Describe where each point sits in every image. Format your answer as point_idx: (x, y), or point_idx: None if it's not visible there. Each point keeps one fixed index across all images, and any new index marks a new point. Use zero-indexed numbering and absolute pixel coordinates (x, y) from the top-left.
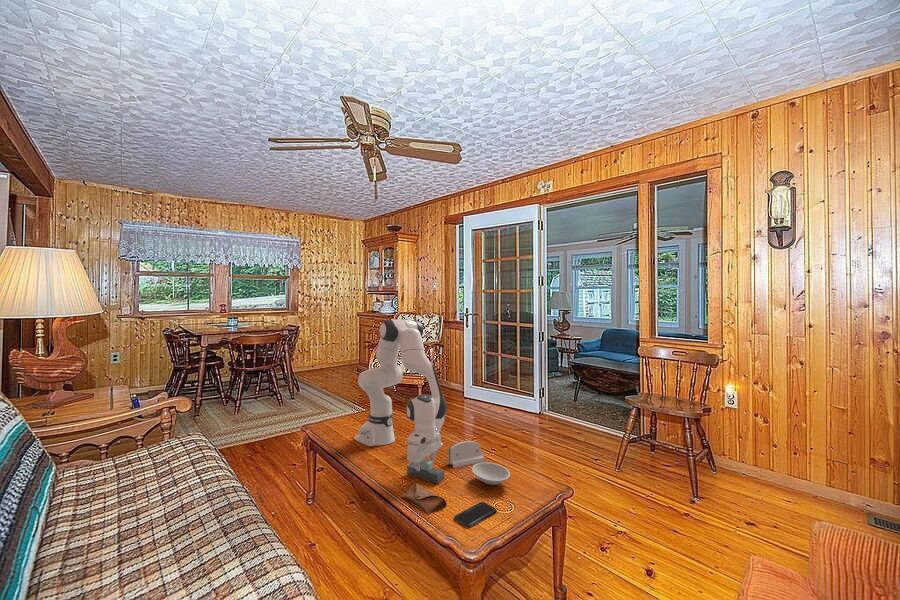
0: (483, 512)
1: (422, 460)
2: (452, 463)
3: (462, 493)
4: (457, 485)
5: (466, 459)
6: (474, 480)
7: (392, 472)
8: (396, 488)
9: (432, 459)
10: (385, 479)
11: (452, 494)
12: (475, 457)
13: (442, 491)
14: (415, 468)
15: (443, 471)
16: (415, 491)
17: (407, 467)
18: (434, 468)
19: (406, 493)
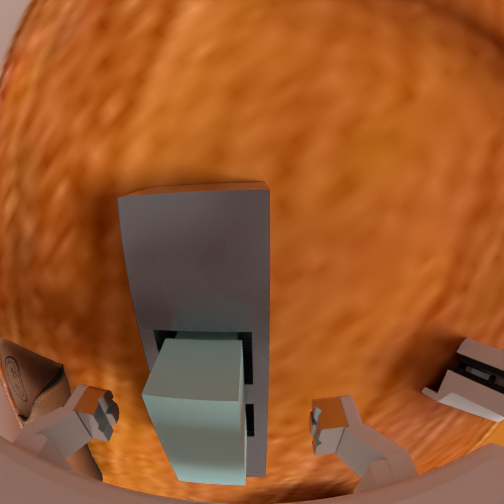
0: None
1: (197, 426)
2: (440, 396)
3: (203, 494)
4: (246, 477)
5: (481, 409)
6: (323, 487)
7: (117, 56)
8: (4, 270)
9: (317, 449)
10: (21, 119)
11: (171, 480)
12: (496, 414)
13: (157, 458)
14: (140, 321)
15: (257, 475)
16: (27, 410)
17: (123, 203)
18: (259, 438)
19: (6, 367)
